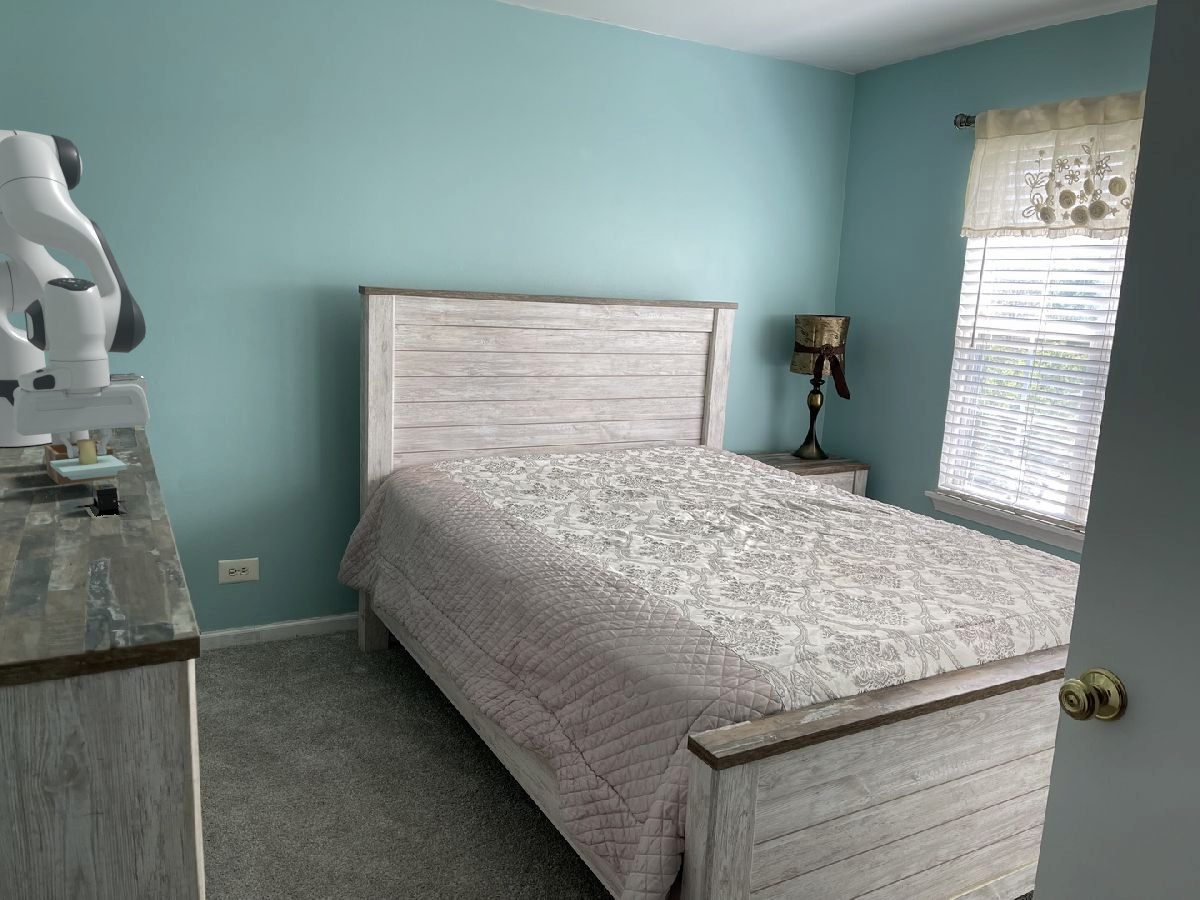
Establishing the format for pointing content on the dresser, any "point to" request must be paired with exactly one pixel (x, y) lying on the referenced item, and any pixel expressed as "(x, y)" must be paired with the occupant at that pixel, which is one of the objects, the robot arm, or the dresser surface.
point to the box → (60, 453)
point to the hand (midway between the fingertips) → (87, 455)
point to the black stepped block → (106, 501)
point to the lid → (88, 463)
